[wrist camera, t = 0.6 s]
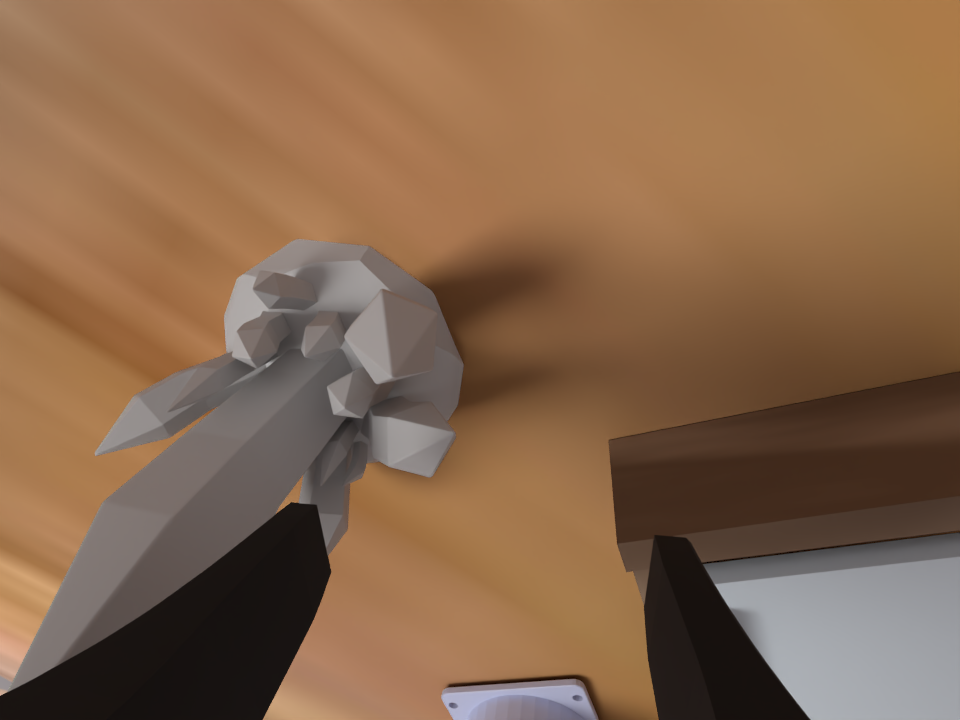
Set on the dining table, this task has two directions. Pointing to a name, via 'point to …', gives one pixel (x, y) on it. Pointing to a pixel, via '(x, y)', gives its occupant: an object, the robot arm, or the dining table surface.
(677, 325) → the dining table surface
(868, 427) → the frame
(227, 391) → the crystal
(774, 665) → the trapdoor
